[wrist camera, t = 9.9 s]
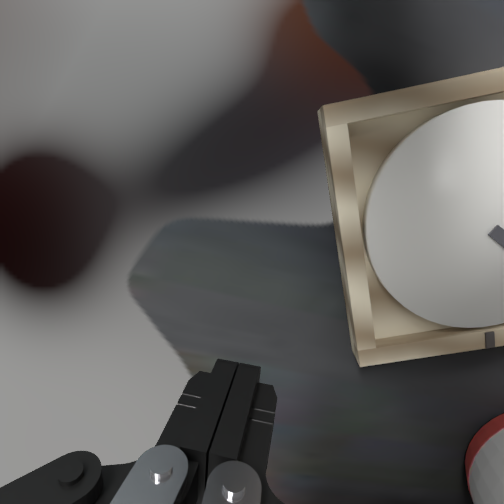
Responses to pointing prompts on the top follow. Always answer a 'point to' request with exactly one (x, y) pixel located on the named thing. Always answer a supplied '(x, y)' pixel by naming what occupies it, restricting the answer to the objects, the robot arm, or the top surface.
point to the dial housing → (352, 208)
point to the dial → (443, 218)
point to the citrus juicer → (487, 463)
